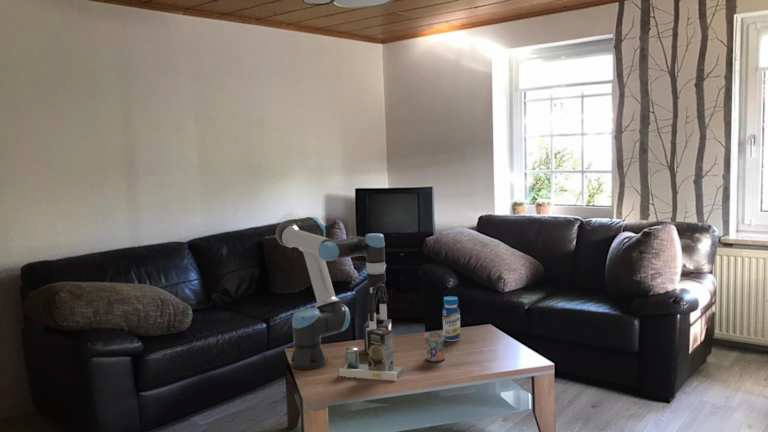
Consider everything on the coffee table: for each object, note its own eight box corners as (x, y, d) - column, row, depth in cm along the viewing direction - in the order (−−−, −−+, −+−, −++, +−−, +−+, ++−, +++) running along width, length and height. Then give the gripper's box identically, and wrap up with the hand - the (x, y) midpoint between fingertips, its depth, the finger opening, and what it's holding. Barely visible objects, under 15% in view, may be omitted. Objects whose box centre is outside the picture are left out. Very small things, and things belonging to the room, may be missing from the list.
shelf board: (339, 376, 248) (339, 368, 248) (348, 368, 258) (347, 360, 257) (396, 380, 241) (395, 373, 240) (402, 371, 250) (402, 364, 250)
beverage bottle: (459, 335, 295) (458, 295, 293) (462, 341, 287) (460, 299, 285) (442, 336, 295) (440, 296, 293) (444, 342, 287) (442, 300, 285)
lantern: (393, 347, 283) (390, 287, 280) (389, 355, 272) (386, 293, 269) (369, 347, 284) (366, 288, 282) (364, 355, 273) (361, 293, 271)
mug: (448, 362, 260) (447, 337, 258) (426, 363, 259) (425, 339, 257) (442, 353, 271) (441, 329, 270) (421, 354, 270) (420, 331, 269)
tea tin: (345, 369, 250) (344, 350, 249) (349, 365, 255) (348, 346, 254) (356, 370, 249) (355, 351, 248) (361, 365, 254) (360, 347, 253)
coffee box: (367, 369, 249) (365, 330, 248) (377, 364, 254) (375, 326, 253) (385, 373, 244) (384, 334, 242) (395, 368, 249) (393, 329, 247)
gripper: (374, 279, 232) (377, 333, 234) (394, 266, 255) (396, 316, 257) (356, 278, 234) (358, 332, 236) (377, 266, 257) (379, 315, 260)
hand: (378, 324), depth 247 cm, fingers open, 13 cm apart
